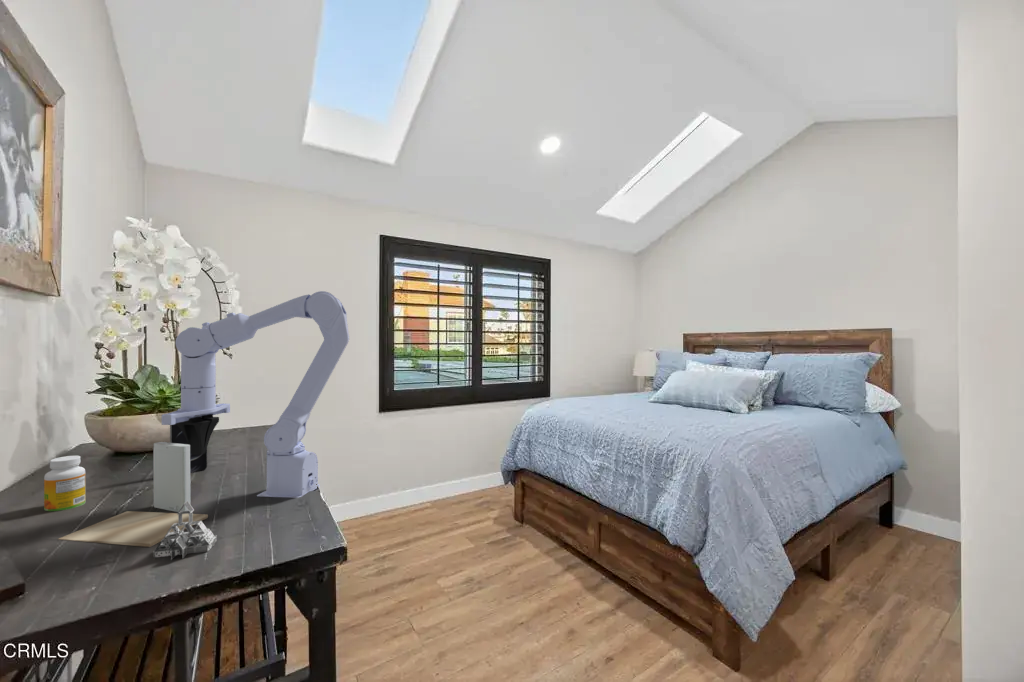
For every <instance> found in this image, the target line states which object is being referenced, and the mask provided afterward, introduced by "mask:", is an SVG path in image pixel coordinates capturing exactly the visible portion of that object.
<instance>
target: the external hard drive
mask: <svg viewBox="0 0 1024 682" xmlns="http://www.w3.org/2000/svg"><path fill="white" fill-rule="evenodd" d="M152 458H153V459H152V460H153V466H152V467H153V468H152V469H153V470H152V471H153V485H152V486H153V507H154V508H155V509H156V508H157V509H161V510H166V511H170V512H171V511H172V512H174V513H178V512H179V510H180V509H181V507H182V506H183V504H184V503H185V502H187V501H188V502H189V503H190V504H191V473H190V445H187V444H178V443H170V442H166V441H158V442H154V443H153V457H152ZM187 510H188V509H187V507H186V506H184V507H183V509H182V510H181V511H187Z"/></svg>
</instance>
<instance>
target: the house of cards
mask: <svg viewBox="0 0 1024 682" xmlns="http://www.w3.org/2000/svg"><path fill="white" fill-rule="evenodd" d="M184 506H186V507H187V509H188V510H187V511H181V510H182V509H183V507H184ZM194 511H195V509H194V508H193V506H192V505H191V502H190V503H189V502H188V501H187V502H185V503H184V504H183V506H182V507H181V509H180V510H179V512H177V513H178V514H177V515H178V523H174V524H173V525H172V526H171V527H170V529H169V530H168V532H167V534H166V535H165V537H164V538H163V539H162V540H161V542H159V543H158V544H157V546H156V548H155V550H153V551H152V556H153V558H152V559H154V558H160V557H170V561H173V559H174V558H175V557H176V556H181V555H182V559H185V558H186V556H187V554H198V553H206V552H209V551H210V550H211V549H212V547H215V543H216V542H217V536H218V535H217V534H215V535H214V533H213V532H212V531H211V529H210V528H208V527H207V526H206V525H205V524H204V522H203V521H194V522H193V514H194V513H193V512H194ZM182 514H189V522H188V523H187V522H182ZM194 524H195V525H194ZM182 525H184V527H183V528H182V530H181V531H180V530H179V528H178V527H177V526H182ZM191 525H193V526H195V528H194V527H193V526H191ZM198 527H199V529H197V528H198ZM184 528H186V529H185V530H187V531H185V530H184ZM171 529H172V530H173V531H174V532H170V530H171ZM188 536H189V537H188Z"/></svg>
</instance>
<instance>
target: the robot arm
mask: <svg viewBox="0 0 1024 682" xmlns="http://www.w3.org/2000/svg"><path fill="white" fill-rule="evenodd" d="M347 315H348V314H347V311H346V309H345V307H344V305H343V302H342V301H340V299H339V298H337V297H336V296H335V295H334V294H332V293H330V292H328V291H327V290H326V291H324V290H319V291H316V292H314V293H312V294H303V295H301V296H297V297H295V298H292V299H290V300H287V301H284V302H282V303H280V304H277V305H274V306H272V307H270V308H266V309H265V310H261V311H259V312H256V313H254V314H252V315H251V314H250V315H247V314H245V313H242V312H238V313H236V312H229V313H226V317H225V318H222V319H219V320H216V321H214V322H209V321H207V322H203V323H202V324H201V326H202V327H201V328H200V327H193V326H192V327H187V328H186V329H184V330H182V331H180V332H179V334H178V335H176V338H175V347H176V349H177V351H178V352H179V353H180V355H181V356H180V408H177V410H174V411H172V412H169V413H168V412H167V413H163V414H161V426H170V425H173V424H175V423H177V426H178V427H179V428H180V429H181V431H182V432H183V434H184V436H185V437H186V440H187V442H188V445H190V451H191V454H193V455H201V454H204V453H206V449H207V450H208V445H209V442H210V439H211V436H212V434H213V432H214V430H215V428H216V427H217V425H218V423H219V422H220V417H219V416H216V415H221V414H229V413H231V403H218V404H217V403H216V402H217V401H216V400H217V397H216V396H217V395H216V394H217V393H216V390H217V387H216V386H217V385H216V384H217V382H216V380H217V376H216V375H217V365H216V353H218V352H219V350H224V349H227V348H230V347H232V346H235V345H238V344H241V343H243V342H246V341H249V340H252V339H253V338H254V337H255V334H256V333H257V331H259V330H261V329H264V328H266V327H269V326H272V325H275V324H279V323H283V322H285V321H288V320H291V319H294V318H299V319H300V318H301V319H302V318H303V319H310V320H313V321H314V322H315V323H316V324H317V325H318V328H319V331H320V333H321V334H322V337H323V342H322V344H321V345H320V347H319V349H318V350H317V352H316V354H315V356H314V358H313V359H312V362H311V363H310V365H309V367H308V369H306V370H307V371H306V372H305V374H304V376H303V378H302V380H301V381H300V383H299V385H298V387H297V389H296V391H295V392H294V394H293V396H292V398H291V399H290V402H289V404H288V405H287V406H286V408H285V409H284V411H283V412H282V413H281V415H280V416H279V418H278V419H277V421H276V422H275V423H274V424H272V426H270V427H268V429H267V430H266V432H265V433H264V437H263V444H264V446H265V447H266V449H267V450H266V490H264V491H262V492H261V493H258V494H257V495H256V496H257V497H267V498H270V497H271V498H290V499H291V498H297V499H298V498H302V497H304V496H305V495H306V494H307V493H310V492H313V491H315V490H316V489H318V488H320V486H321V485H320V484H319V464H318V463H319V460H318V456H317V454H316V453H315V452H313V451H308V450H306V448H305V447H306V446H305V444H304V443H303V441H301V440H303V439H304V437H305V435H306V432H307V422H308V421H309V418H310V416H311V412H312V410H313V409H314V407H315V405H316V404H317V401H318V400H319V398H320V397H321V394H322V392H323V390H324V388H325V386H326V384H327V383H328V381H329V379H330V377H331V376H332V374H333V372H334V370H335V369H336V366H337V365H338V363H339V361H340V359H341V357H342V355H343V353H344V351H345V349H346V347H347V346H348V344H349V342H350V334H349V333H350V331H349V325H348V324H349V323H348V316H347ZM201 414H202V415H201ZM195 415H197V416H195ZM187 417H188V418H187ZM316 484H317V485H316ZM317 486H318V488H317Z"/></svg>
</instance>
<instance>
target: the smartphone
mask: <svg viewBox="0 0 1024 682" xmlns="http://www.w3.org/2000/svg"><path fill="white" fill-rule="evenodd" d="M201 415H202V414H201ZM195 416H197V415H195ZM187 418H188V417H187ZM169 443H178V444H187V445H188V442H187V440H186V437H185V436H184V434H183V432H182V431H181V429H180V428H179V427H178V426H177V423H175V424H173V425H169ZM207 468H208V448H207V449H206V453H204V454H201V455H193V454H191V451H190V474H194V473H197V472H198V473H200V472H204V471H206V470H207Z"/></svg>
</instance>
